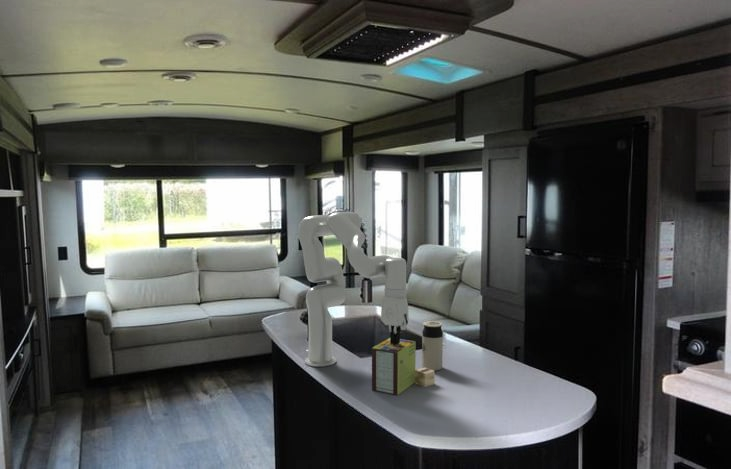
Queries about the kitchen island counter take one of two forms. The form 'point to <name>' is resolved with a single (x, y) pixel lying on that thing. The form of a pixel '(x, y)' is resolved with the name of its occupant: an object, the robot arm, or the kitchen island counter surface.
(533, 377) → the kitchen island counter surface
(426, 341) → the travel mug
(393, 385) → the protein box
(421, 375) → the slotted oak block
